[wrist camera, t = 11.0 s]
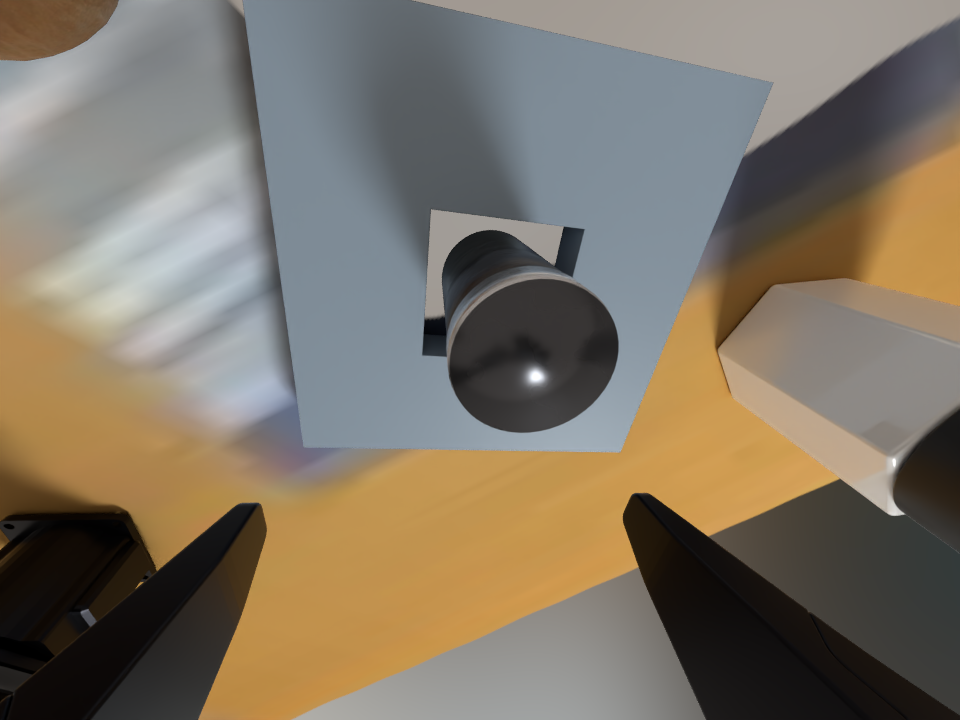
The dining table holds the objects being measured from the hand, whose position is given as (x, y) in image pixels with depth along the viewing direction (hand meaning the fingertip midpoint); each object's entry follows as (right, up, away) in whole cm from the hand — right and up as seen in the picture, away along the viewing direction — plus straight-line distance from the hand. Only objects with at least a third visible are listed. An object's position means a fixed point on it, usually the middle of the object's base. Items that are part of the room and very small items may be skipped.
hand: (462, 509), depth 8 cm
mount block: (+1, +8, +9) cm, 12 cm away
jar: (+19, +5, +13) cm, 24 cm away
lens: (+1, +8, +9) cm, 12 cm away
